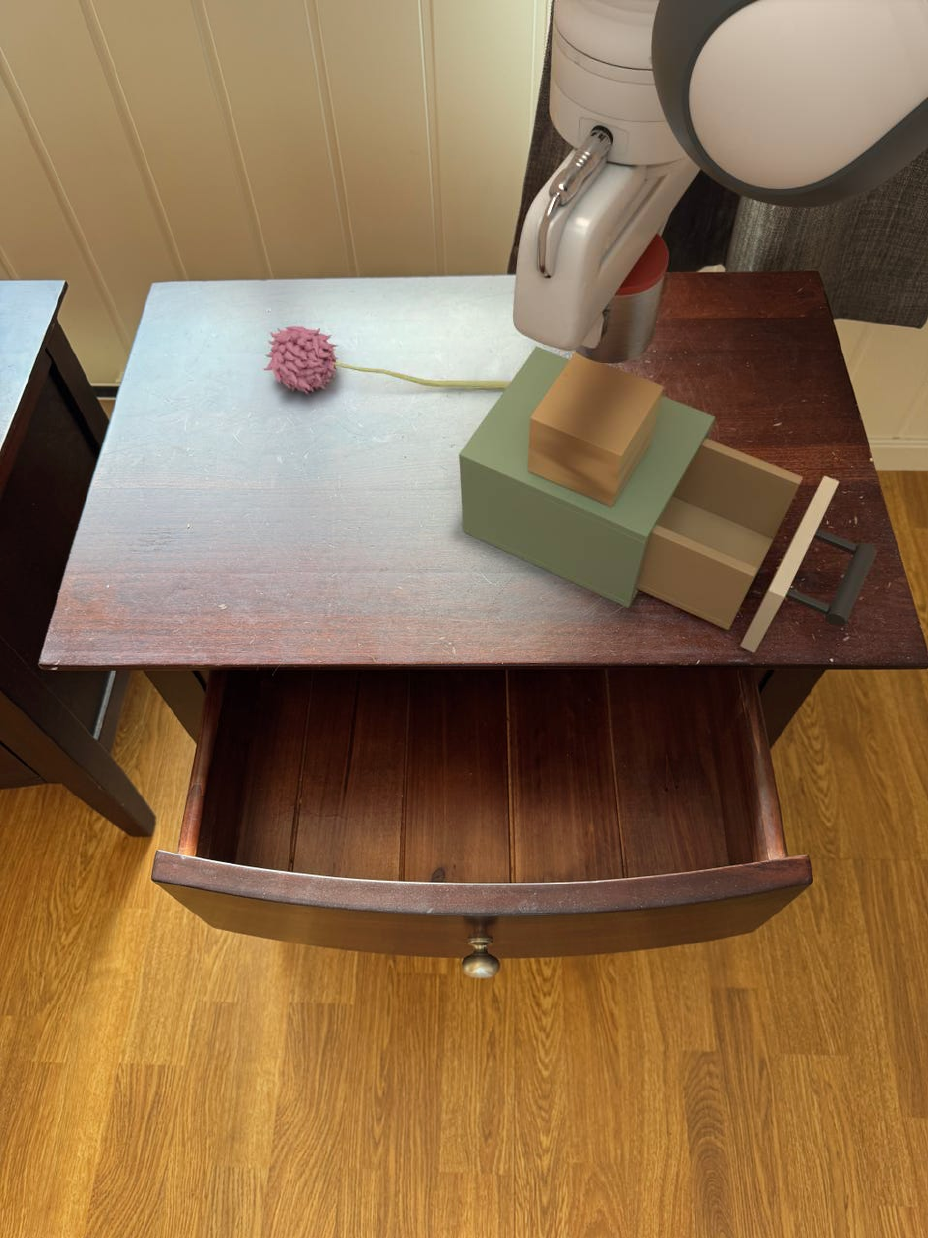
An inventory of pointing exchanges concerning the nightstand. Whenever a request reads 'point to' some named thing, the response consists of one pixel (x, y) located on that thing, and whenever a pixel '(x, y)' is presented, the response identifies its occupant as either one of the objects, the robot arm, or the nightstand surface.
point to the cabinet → (557, 516)
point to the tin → (633, 309)
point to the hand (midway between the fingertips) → (613, 300)
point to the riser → (593, 428)
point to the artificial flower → (329, 362)
